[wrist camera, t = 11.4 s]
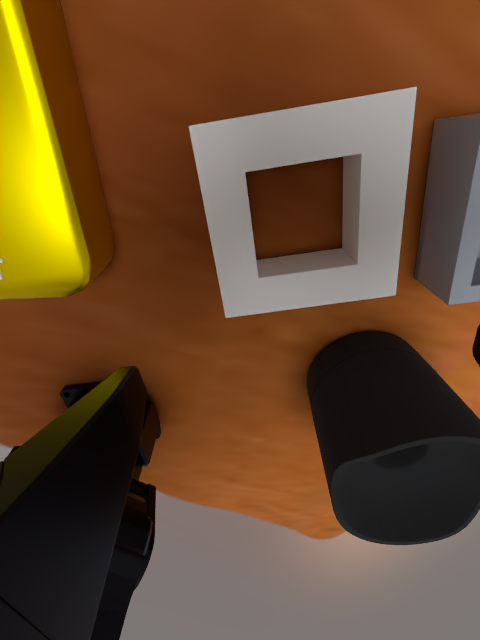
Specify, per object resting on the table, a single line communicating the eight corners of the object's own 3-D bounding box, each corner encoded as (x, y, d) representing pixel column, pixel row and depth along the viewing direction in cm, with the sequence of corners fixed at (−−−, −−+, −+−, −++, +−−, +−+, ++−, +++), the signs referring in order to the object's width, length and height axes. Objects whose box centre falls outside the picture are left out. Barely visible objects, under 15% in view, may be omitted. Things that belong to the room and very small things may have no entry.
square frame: (226, 296, 22) (225, 317, 19) (195, 127, 17) (188, 125, 15) (376, 275, 21) (395, 295, 19) (388, 94, 17) (416, 86, 14)
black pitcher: (278, 366, 25) (300, 488, 17) (391, 300, 22) (489, 405, 14) (336, 433, 29) (379, 561, 20) (439, 383, 26) (540, 507, 18)
